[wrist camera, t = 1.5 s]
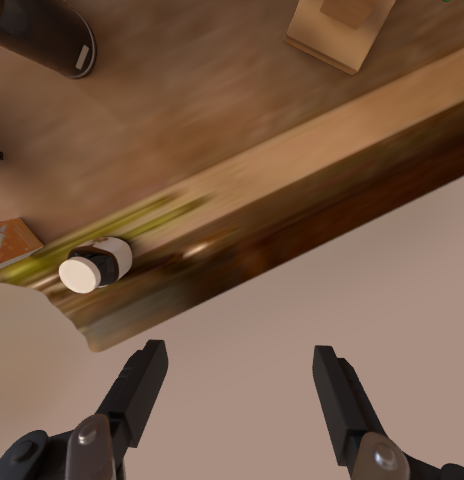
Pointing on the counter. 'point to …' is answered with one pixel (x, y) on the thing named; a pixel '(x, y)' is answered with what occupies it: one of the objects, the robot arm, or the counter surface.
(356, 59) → the wooden pedestal stand
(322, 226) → the counter surface
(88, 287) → the spread jar
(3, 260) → the small box
